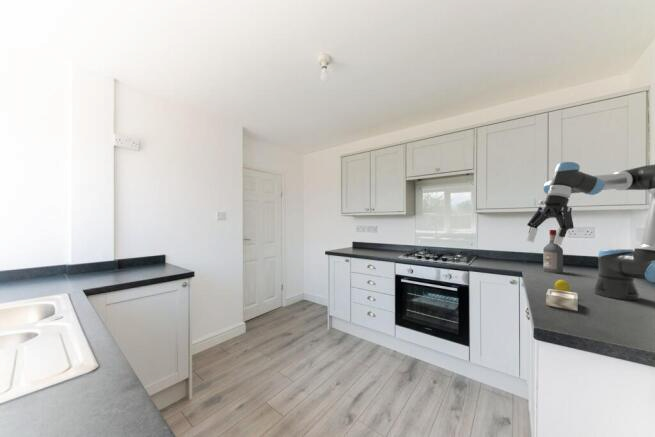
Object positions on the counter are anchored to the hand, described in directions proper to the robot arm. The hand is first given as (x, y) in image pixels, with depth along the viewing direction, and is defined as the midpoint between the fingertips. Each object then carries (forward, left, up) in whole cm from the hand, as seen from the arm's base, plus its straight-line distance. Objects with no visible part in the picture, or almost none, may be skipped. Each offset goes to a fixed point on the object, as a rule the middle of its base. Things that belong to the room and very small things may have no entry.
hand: (542, 242), depth 112 cm
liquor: (+2, -96, -28) cm, 100 cm away
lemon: (-5, -26, -28) cm, 39 cm away
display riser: (-6, -8, -28) cm, 30 cm away
